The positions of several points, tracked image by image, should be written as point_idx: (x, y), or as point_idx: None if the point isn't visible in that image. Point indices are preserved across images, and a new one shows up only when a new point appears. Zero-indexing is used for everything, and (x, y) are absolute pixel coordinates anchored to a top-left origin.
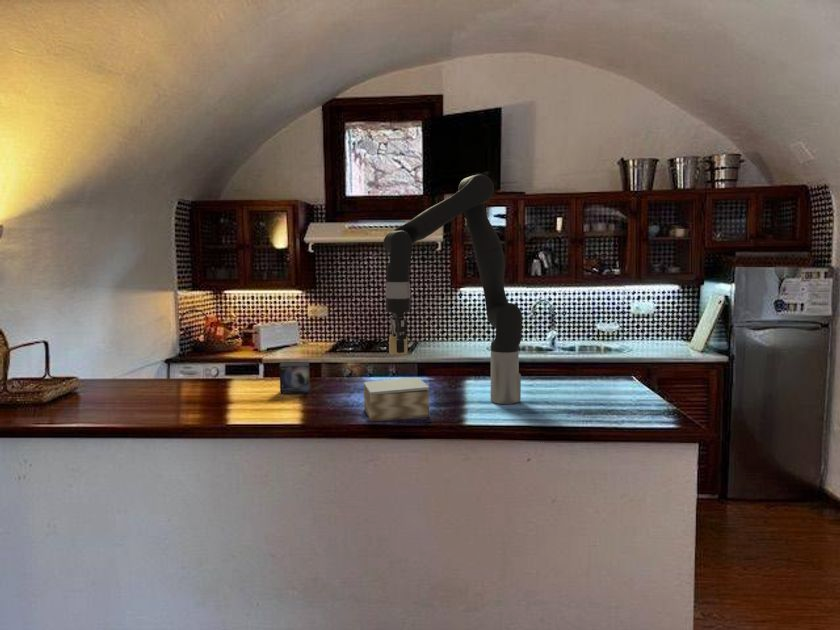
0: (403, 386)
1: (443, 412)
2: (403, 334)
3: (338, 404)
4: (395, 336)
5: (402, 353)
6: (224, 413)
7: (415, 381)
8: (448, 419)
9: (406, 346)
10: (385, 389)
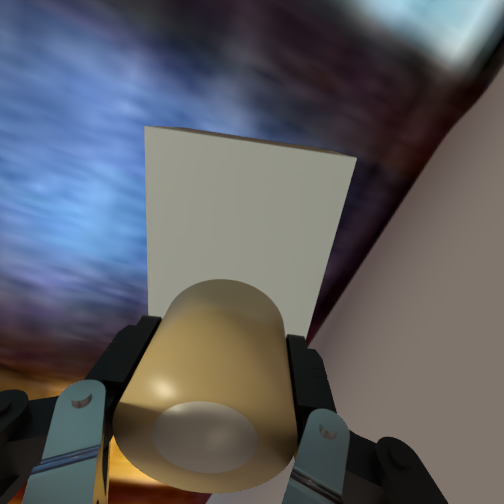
0: (283, 246)
1: (296, 77)
2: (339, 482)
3: (111, 326)
4: (167, 449)
5: (284, 329)
6: (131, 485)
7: (223, 172)
8: (379, 98)
9: (268, 328)
10: (292, 311)
